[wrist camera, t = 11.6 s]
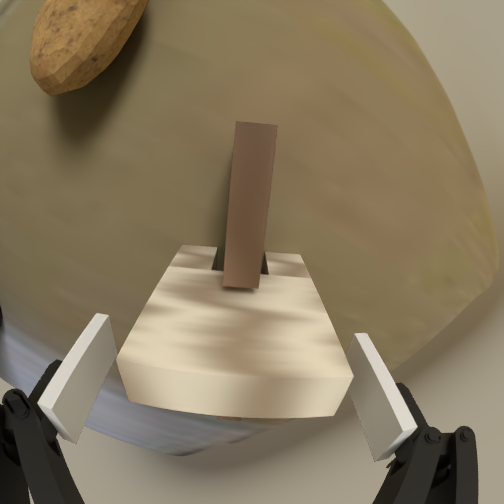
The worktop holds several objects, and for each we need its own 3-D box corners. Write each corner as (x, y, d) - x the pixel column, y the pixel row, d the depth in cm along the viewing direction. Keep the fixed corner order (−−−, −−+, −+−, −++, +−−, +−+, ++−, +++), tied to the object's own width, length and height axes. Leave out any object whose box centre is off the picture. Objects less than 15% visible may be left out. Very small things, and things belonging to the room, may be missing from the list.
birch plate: (182, 276, 24) (129, 401, 11) (182, 244, 23) (116, 359, 10) (294, 285, 24) (333, 415, 11) (299, 254, 23) (353, 376, 10)
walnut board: (222, 358, 27) (217, 418, 20) (240, 132, 19) (236, 121, 12) (241, 359, 27) (240, 420, 20) (266, 134, 20) (277, 125, 12)
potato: (51, 104, 17) (-7, 99, 10) (92, -14, 12) (54, -44, 5) (134, 101, 18) (83, 84, 11) (178, -27, 13) (156, -74, 6)
